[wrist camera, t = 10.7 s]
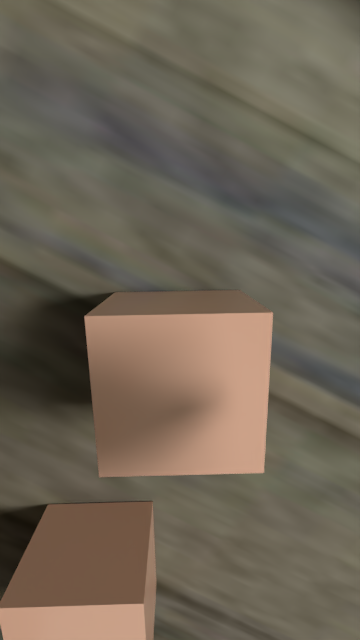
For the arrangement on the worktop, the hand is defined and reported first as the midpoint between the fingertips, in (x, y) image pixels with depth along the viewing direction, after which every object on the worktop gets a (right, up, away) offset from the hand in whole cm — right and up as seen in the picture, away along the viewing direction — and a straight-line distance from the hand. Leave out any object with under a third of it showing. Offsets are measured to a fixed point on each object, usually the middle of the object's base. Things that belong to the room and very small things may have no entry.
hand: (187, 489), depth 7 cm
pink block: (0, +2, +10) cm, 10 cm away
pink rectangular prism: (-5, -10, +13) cm, 17 cm away
